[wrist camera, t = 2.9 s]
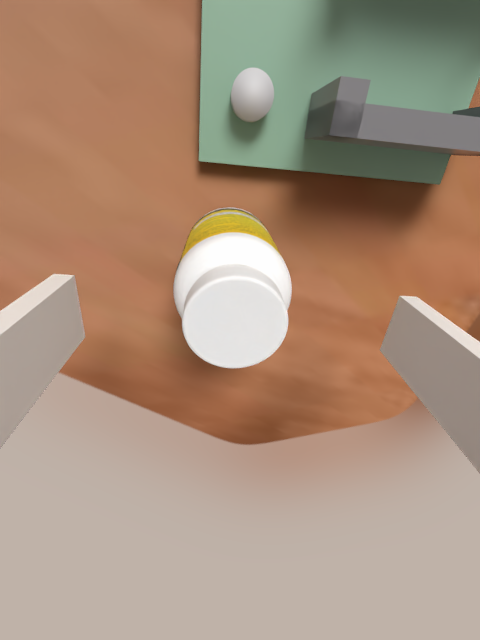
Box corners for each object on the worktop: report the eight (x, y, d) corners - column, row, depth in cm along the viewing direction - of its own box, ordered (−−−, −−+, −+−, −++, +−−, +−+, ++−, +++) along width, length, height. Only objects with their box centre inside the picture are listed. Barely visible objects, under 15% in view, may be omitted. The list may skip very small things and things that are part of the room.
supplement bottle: (173, 221, 19) (136, 280, 10) (259, 194, 18) (295, 233, 10) (202, 297, 21) (192, 396, 13) (277, 276, 21) (319, 363, 12)
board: (199, 160, 17) (197, 161, 15) (207, -200, 11) (205, -263, 10) (431, 183, 19) (453, 186, 17) (542, -129, 13) (594, -173, 11)
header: (304, 138, 16) (329, 135, 13) (352, -156, 12) (414, -298, 8) (458, 155, 17) (523, 156, 13) (560, -113, 12) (702, -222, 9)
